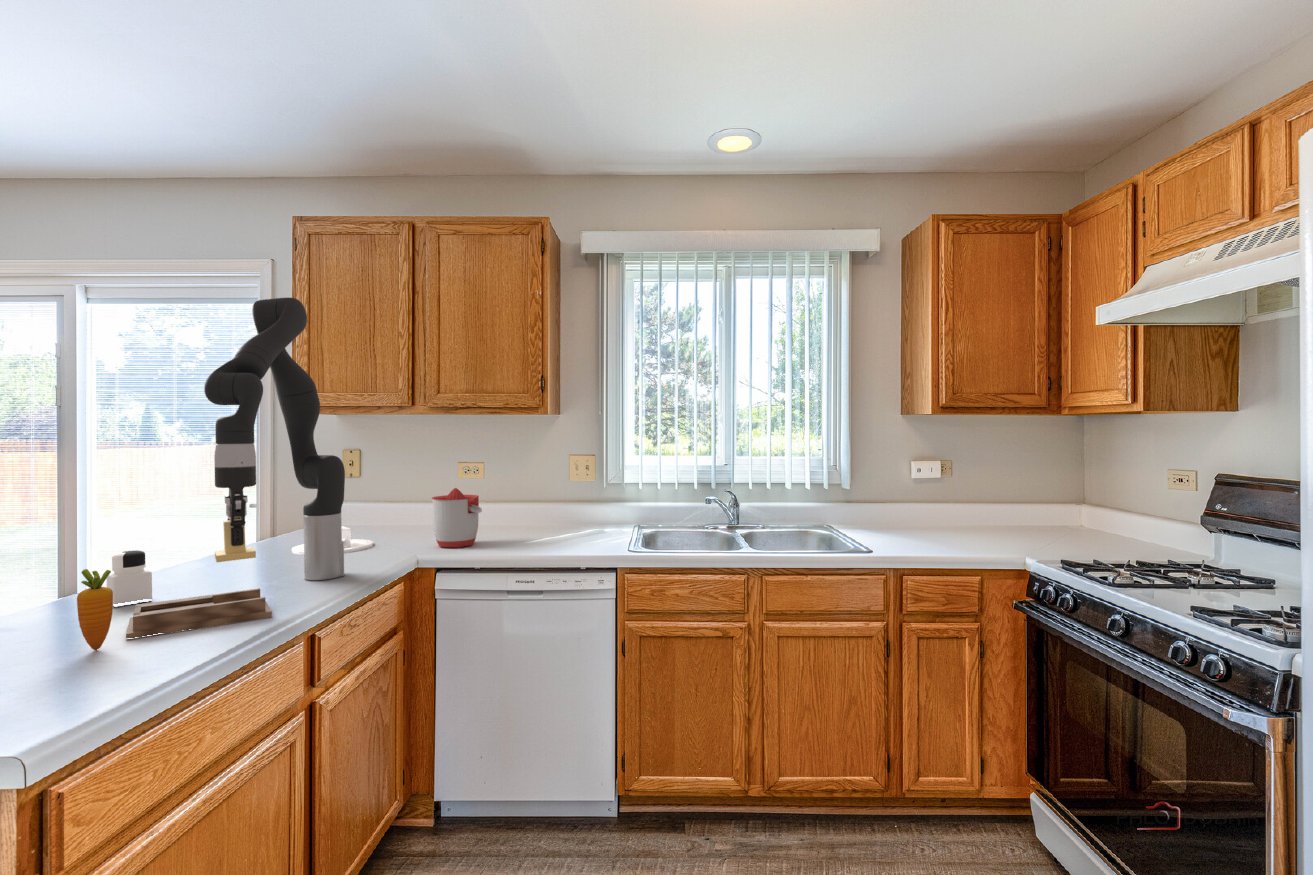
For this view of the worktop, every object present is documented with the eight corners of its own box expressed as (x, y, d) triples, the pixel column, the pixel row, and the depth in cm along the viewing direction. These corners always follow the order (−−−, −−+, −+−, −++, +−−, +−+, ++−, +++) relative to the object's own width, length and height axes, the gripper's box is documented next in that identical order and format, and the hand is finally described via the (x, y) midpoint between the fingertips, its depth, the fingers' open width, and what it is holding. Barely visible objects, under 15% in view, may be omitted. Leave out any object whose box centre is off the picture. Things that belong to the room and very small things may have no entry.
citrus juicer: (466, 550, 212) (465, 490, 212) (422, 548, 218) (421, 489, 217) (492, 542, 227) (492, 486, 227) (451, 540, 232) (450, 485, 232)
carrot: (121, 645, 120) (119, 565, 119) (98, 654, 115) (97, 570, 114) (93, 646, 119) (92, 565, 119) (70, 655, 114) (68, 571, 114)
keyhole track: (264, 603, 148) (264, 586, 148) (271, 617, 137) (271, 598, 137) (130, 623, 134) (129, 604, 134) (126, 640, 123) (125, 619, 123)
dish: (275, 552, 215) (274, 519, 215) (342, 540, 237) (342, 510, 237) (322, 558, 204) (321, 522, 203) (388, 545, 226) (387, 513, 226)
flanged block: (252, 552, 144) (251, 517, 144) (255, 557, 138) (254, 520, 138) (214, 557, 140) (213, 520, 140) (216, 562, 134) (214, 524, 134)
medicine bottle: (144, 597, 156) (143, 547, 156) (152, 601, 151) (151, 551, 151) (106, 603, 150) (105, 552, 150) (113, 608, 146) (112, 555, 146)
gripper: (259, 465, 136) (260, 546, 136) (252, 463, 147) (253, 538, 147) (216, 466, 131) (217, 550, 131) (213, 464, 143) (214, 542, 143)
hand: (236, 543), depth 139 cm, fingers closed on flanged block, 3 cm apart
